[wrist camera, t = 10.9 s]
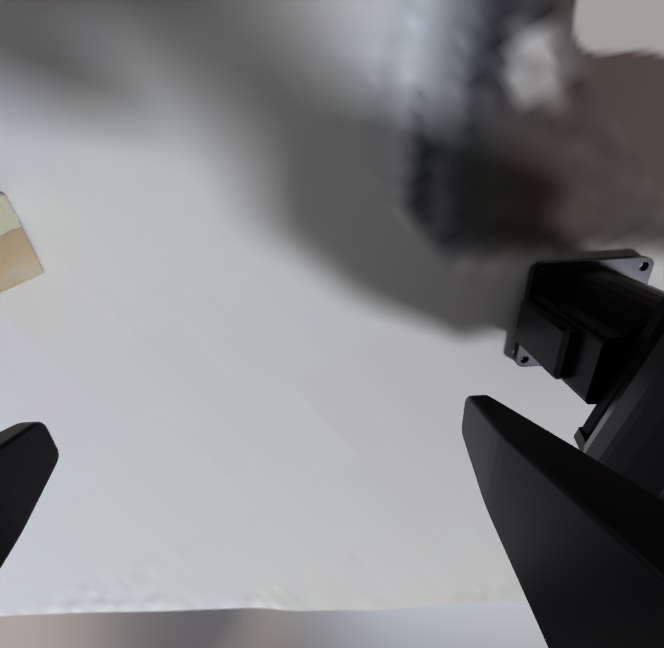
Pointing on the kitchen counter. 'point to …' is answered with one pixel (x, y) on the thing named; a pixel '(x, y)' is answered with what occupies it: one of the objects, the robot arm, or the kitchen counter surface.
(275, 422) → the kitchen counter surface
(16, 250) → the box
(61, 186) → the kitchen counter surface
